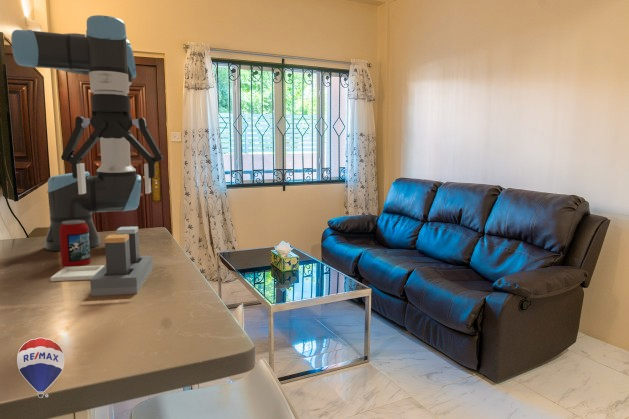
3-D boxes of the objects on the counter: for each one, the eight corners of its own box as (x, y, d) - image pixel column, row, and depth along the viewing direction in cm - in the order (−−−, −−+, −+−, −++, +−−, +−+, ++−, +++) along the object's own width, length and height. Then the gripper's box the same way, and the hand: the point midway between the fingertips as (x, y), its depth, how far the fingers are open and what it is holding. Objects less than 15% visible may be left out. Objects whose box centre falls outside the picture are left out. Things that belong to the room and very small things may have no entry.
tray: (65, 272, 110) (65, 266, 110) (104, 271, 112) (104, 265, 111) (50, 283, 101) (50, 277, 101) (94, 281, 103) (93, 275, 102)
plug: (112, 278, 98) (109, 234, 97) (131, 277, 99) (128, 234, 97) (107, 284, 94) (104, 238, 93) (127, 283, 95) (124, 237, 94)
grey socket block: (115, 272, 111) (114, 256, 110) (153, 270, 112) (152, 255, 112) (91, 298, 91) (90, 279, 91) (137, 295, 93) (136, 277, 92)
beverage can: (78, 270, 112) (75, 223, 111) (55, 268, 114) (52, 222, 112) (96, 263, 119) (93, 219, 117) (74, 262, 120) (71, 218, 118)
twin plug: (122, 267, 108) (120, 226, 106) (140, 266, 109) (138, 226, 107) (118, 271, 104) (116, 229, 103) (136, 270, 105) (134, 229, 103)
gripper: (38, 90, 88) (47, 195, 91) (168, 94, 92) (172, 194, 96) (53, 94, 95) (60, 191, 98) (173, 97, 100) (176, 190, 103)
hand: (115, 193), depth 97 cm, fingers open, 13 cm apart
